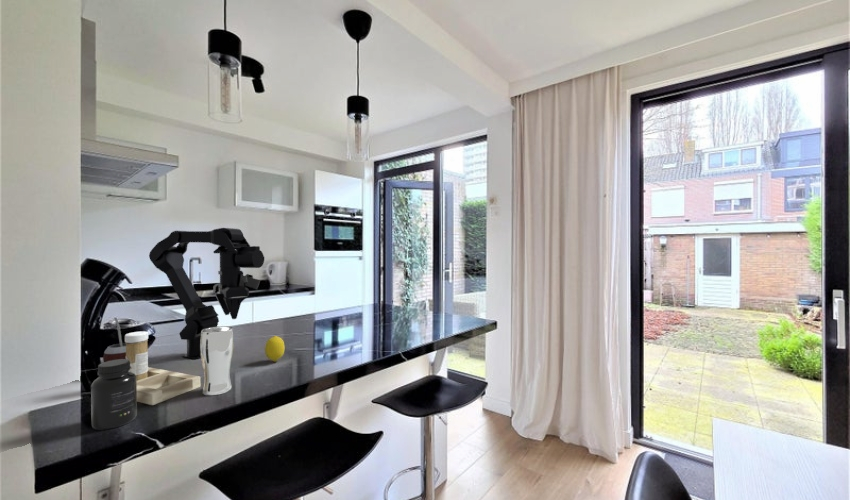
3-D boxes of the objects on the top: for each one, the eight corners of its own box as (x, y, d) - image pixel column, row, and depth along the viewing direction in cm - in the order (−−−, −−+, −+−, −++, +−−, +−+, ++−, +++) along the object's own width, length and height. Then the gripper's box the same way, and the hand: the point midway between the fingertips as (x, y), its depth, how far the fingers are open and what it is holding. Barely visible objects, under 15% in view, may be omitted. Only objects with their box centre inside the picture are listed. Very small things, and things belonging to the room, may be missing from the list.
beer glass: (209, 399, 80) (209, 334, 80) (194, 392, 84) (194, 330, 84) (239, 388, 86) (239, 328, 86) (224, 382, 90) (223, 324, 89)
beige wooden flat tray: (96, 391, 84) (96, 380, 84) (146, 375, 95) (146, 365, 95) (152, 405, 77) (152, 392, 77) (200, 386, 87) (200, 375, 87)
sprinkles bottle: (121, 387, 87) (120, 334, 87) (142, 381, 91) (142, 330, 91) (131, 390, 85) (130, 336, 85) (152, 384, 89) (152, 331, 89)
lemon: (288, 359, 109) (287, 333, 109) (278, 365, 103) (278, 338, 103) (271, 358, 109) (271, 333, 109) (261, 364, 104) (261, 337, 104)
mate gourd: (124, 378, 93) (123, 322, 93) (92, 379, 92) (92, 323, 92) (144, 368, 100) (144, 316, 100) (115, 369, 100) (115, 317, 100)
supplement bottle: (83, 427, 68) (82, 365, 67) (124, 411, 74) (123, 355, 74) (104, 433, 65) (103, 370, 65) (144, 417, 71) (144, 359, 71)
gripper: (266, 267, 108) (266, 317, 108) (249, 265, 122) (249, 309, 122) (226, 269, 101) (226, 323, 101) (212, 266, 115) (213, 314, 115)
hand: (230, 316), depth 110 cm, fingers open, 9 cm apart
